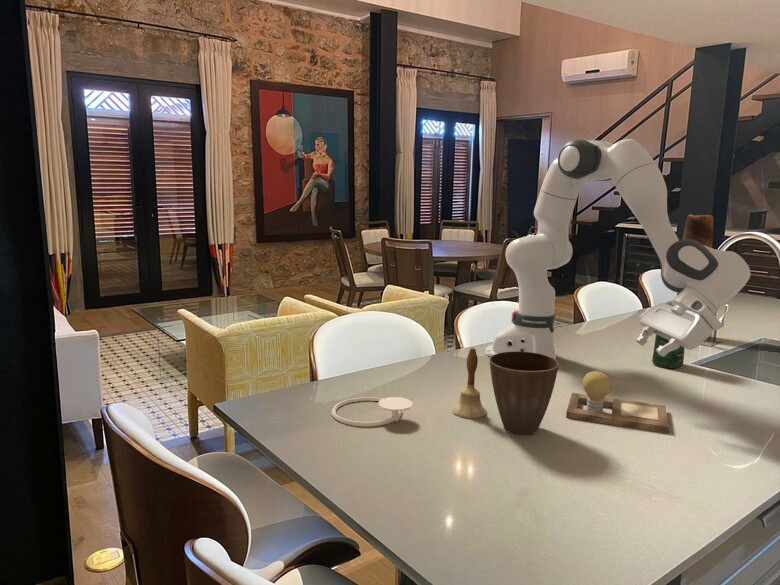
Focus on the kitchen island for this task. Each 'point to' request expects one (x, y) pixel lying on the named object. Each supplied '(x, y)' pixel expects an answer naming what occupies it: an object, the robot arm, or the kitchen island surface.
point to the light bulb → (596, 389)
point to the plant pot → (522, 388)
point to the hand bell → (470, 393)
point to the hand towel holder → (387, 404)
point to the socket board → (622, 413)
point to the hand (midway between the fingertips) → (648, 348)
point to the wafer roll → (699, 229)
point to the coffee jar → (667, 355)
